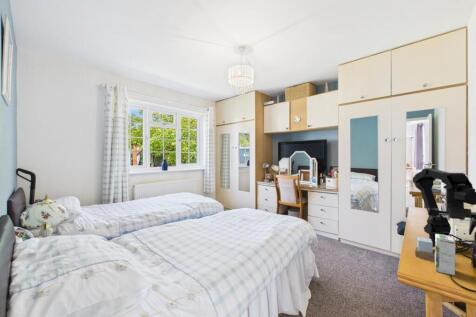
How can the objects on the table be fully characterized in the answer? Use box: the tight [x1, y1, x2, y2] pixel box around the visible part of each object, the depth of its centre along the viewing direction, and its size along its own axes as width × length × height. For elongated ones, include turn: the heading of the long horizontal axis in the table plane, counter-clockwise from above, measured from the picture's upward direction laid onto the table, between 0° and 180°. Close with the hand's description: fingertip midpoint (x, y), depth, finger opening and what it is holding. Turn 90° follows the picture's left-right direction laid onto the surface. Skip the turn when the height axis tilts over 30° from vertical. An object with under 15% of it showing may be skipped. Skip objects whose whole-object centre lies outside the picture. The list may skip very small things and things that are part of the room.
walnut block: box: [414, 246, 435, 263], centre depth 100 cm, size 7×7×4 cm
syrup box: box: [434, 234, 456, 276], centre depth 88 cm, size 6×6×14 cm
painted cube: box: [416, 236, 434, 253], centre depth 100 cm, size 5×5×5 cm
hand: (455, 232), depth 97 cm, fingers open, 9 cm apart
